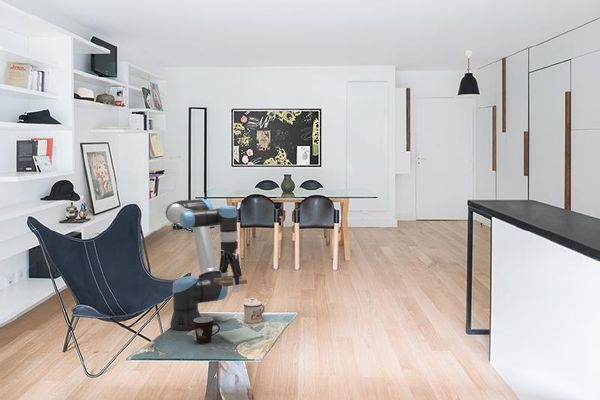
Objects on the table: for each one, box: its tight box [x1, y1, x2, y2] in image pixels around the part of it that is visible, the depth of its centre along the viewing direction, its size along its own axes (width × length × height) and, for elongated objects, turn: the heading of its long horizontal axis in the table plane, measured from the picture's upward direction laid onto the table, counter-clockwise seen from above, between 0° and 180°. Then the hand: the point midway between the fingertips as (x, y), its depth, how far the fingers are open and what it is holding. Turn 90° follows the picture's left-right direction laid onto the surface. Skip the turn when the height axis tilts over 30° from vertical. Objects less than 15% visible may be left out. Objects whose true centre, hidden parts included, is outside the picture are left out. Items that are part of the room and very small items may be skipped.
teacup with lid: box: [243, 297, 266, 324], centre depth 289 cm, size 12×9×12 cm
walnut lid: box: [214, 274, 248, 287], centre depth 261 cm, size 11×11×2 cm
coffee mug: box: [194, 316, 221, 345], centre depth 258 cm, size 12×9×10 cm
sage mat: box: [216, 326, 265, 345], centre depth 266 cm, size 16×15×1 cm
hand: (230, 289), depth 262 cm, fingers closed on walnut lid, 11 cm apart
